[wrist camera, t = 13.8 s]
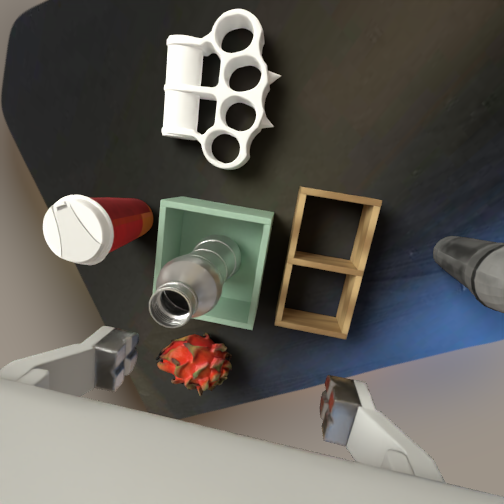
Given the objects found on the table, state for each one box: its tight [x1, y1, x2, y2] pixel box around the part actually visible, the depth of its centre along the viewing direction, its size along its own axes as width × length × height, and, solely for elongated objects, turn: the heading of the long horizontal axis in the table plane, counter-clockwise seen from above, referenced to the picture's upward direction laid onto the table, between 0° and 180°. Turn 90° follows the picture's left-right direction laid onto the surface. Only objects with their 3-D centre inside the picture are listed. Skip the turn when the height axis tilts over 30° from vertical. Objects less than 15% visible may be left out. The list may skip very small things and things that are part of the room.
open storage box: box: [153, 197, 274, 330], centre depth 42 cm, size 15×14×8 cm
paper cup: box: [43, 195, 153, 265], centre depth 39 cm, size 8×8×14 cm
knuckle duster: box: [162, 9, 281, 170], centre depth 39 cm, size 3×18×15 cm
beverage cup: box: [433, 236, 504, 313], centre depth 32 cm, size 7×7×20 cm
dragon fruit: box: [156, 333, 233, 396], centre depth 46 cm, size 8×8×12 cm
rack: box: [275, 187, 382, 339], centre depth 41 cm, size 19×10×5 cm, turn 171°
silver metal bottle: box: [149, 235, 241, 328], centre depth 35 cm, size 6×7×20 cm
